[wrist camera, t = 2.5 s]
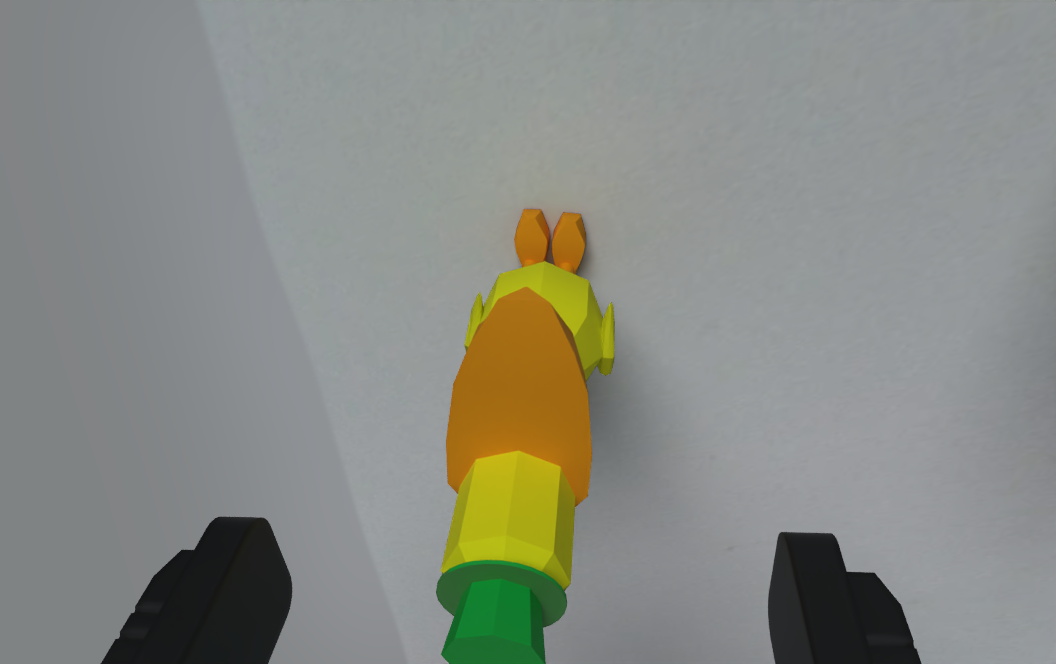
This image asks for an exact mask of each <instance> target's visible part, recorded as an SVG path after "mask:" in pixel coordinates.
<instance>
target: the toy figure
mask: <svg viewBox="0 0 1056 664" xmlns="http://www.w3.org/2000/svg"><path fill="white" fill-rule="evenodd" d="M514 240H515V247H516V252H517V255H518V257H519V260H520V262H521V265H522V268H519V269H516V270H512V271H508V272H505V273H501V274H499V276H498V278H497V280H496V282H495V284H494V286H493V288H492V290H491V292H490V294H489V296H488V298H487V300H486V302H485V304H484V306H483V303H482V296H481V293H479V294H478V295H477V297H476V300H475V303H474V305H473V308H472V311H471V315H470V320H469V325H468V330H467V335H466V340H465V349H466V354H465V357H464V359H463V362H462V364H461V367H460V369H459V372H458V374H457V376H456V379H455V381H454V384H453V391H452V399H451V407H450V415H449V423H448V431H447V439H446V451H447V477H448V484H449V485H450V486H451V487H452V488H453V489H454V490H455V491H456V493H457V494H458V496H457V500H456V505H455V509H454V514H453V518H452V523H451V527H450V531H449V536H448V540H447V545H446V549H445V554H444V558H443V563H442V567H441V572H442V573H443V574H442V576H441V577H440V579H439V581H438V583H437V591H436V594H437V597H438V600H439V602H440V603H441V605H442V606H443V607H444V608H445V609H446V610H447V611H448V612H449V613H451V614H452V615H453V616H454V619H453V622H452V624H451V627H450V630H449V633H448V636H447V639H446V642H445V645H444V647H443V650H442V653H441V655H442V656H443V657H444V658H445V660H446V661H447V662H448V663H449V664H546V662H545V649H544V636H543V628H544V627H546V626H549V625H551V624H553V623H554V622H556V621H558V620H559V619H560V618H561V617H562V615H563V614H564V613H565V610H566V607H567V599H566V594H565V592H564V591H565V590H566V588H567V587H568V586H569V585H570V584H571V568H572V550H573V533H574V515H575V507H576V506H577V505H578V504H579V503H580V502H582V501H583V500H584V499H585V498H586V497H587V496H588V489H589V479H590V469H591V460H592V446H591V431H590V416H589V400H588V391H587V385H586V381H587V379H588V378H589V376H590V375H591V373H592V372H593V370H594V369H595V367H596V365H597V366H598V369H599V372H600V373H601V374H603V375H605V376H606V375H608V374H611V371H612V367H613V363H614V335H615V322H614V311H613V305H612V302H611V303H610V305H609V306H608V308H607V311H606V313H605V316H604V318H603V316H602V314H601V311H600V309H599V306H598V303H597V301H596V298H595V296H594V293H593V290H592V288H591V285H590V282H589V280H586V279H584V278H582V277H580V276H577V275H576V272H577V270H578V267H579V265H580V262H581V259H582V257H583V253H584V249H585V241H586V232H585V229H584V225H583V221H582V218H581V214H575V213H565V212H563V214H562V216H561V218H560V220H559V222H558V224H557V226H556V228H555V229H554V233H553V240H552V254H553V259H554V265H552V264H550V263H548V262H546V261H545V259H546V254H547V250H548V244H549V228H548V226H547V223H546V221H545V218H544V216H543V213H542V211H541V210H536V209H524V210H523V213H522V216H521V219H520V221H519V224H518V227H517V230H516V234H515V239H514Z"/></svg>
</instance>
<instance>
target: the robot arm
mask: <svg viewBox="0 0 1056 664" xmlns="http://www.w3.org/2000/svg"><path fill="white" fill-rule="evenodd" d="M291 598H292V581H291V576H290V573H289V571H288V568H287V566H286V563H285V561H284V558H283V556H282V553H281V551H280V548H279V546H278V543H277V541H276V538H275V536H274V533H273V531H272V528H271V526H270V524H269V522H268V521H267V520H266V519H265V518H254V517H218V518H215V519H214V520H213V521H212V522H211V523H210V524H209V525H208V527H207V528H206V530H205V532H204V534H203V536H202V537H201V539H200V541H199V543H198V544H197V546H196V548H195V550H181V551H180V552H179V553H178V554H177V555H176V556H175V557H174V558H173V559H171V560H170V561H169V562H168V563H167V564H166V565H165V566H164V567H163V568H162V569H161V570H160V571H159V572H158V573H157V574H156V575H154V577H153V578H152V580H151V582H150V583H149V585H148V587H147V588H146V590H145V591H144V593H143V595H142V596H141V598H140V600H139V601H138V603H137V605H136V606H135V612H134V613H131V615H130V616H129V618H128V620H127V621H126V623H125V625H124V626H123V628H122V630H121V631H120V637H119V639H115V641H114V643H113V645H112V646H111V648H110V649H109V651H108V653H107V654H106V656H105V658H104V659H103V661H102V663H101V664H268V662H269V660H270V657H271V655H272V653H273V650H274V648H275V645H276V643H277V640H278V638H279V635H280V633H281V630H282V628H283V626H284V623H285V620H286V618H287V615H288V612H289V609H290V604H291ZM768 618H769V629H770V637H771V642H772V648H773V653H774V659H775V664H921V661H920V658H919V655H918V652H917V649H915V648H914V644H913V642H914V641H913V638H912V635H911V632H910V629H909V627H908V624H907V621H906V618H905V615H904V612H903V610H902V607H901V604H900V603H899V602H898V601H897V600H896V598H895V597H894V596H893V595H892V593H891V592H890V591H889V590H888V589H887V587H886V586H885V585H884V584H883V583H882V581H881V580H880V579H879V578H878V577H877V575H876V574H875V573H865V572H847V571H846V568H845V564H844V561H843V558H842V554H841V551H840V548H839V544H838V542H837V539H836V537H835V536H834V535H833V534H831V533H795V532H781V533H780V534H779V536H778V540H777V547H776V553H775V559H774V565H773V571H772V577H771V583H770V589H769V597H768Z"/></svg>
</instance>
